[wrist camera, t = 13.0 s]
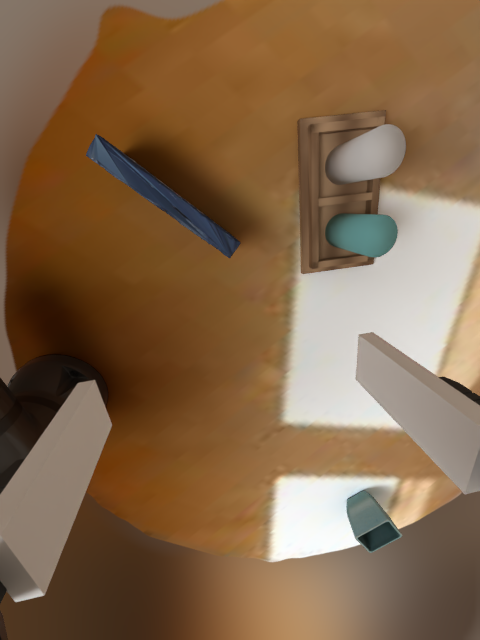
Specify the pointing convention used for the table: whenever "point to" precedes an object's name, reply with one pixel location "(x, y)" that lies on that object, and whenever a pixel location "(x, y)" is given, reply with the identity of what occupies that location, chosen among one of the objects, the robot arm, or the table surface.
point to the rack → (331, 188)
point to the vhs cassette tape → (160, 195)
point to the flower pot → (370, 522)
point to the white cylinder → (367, 156)
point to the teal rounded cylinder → (362, 233)
